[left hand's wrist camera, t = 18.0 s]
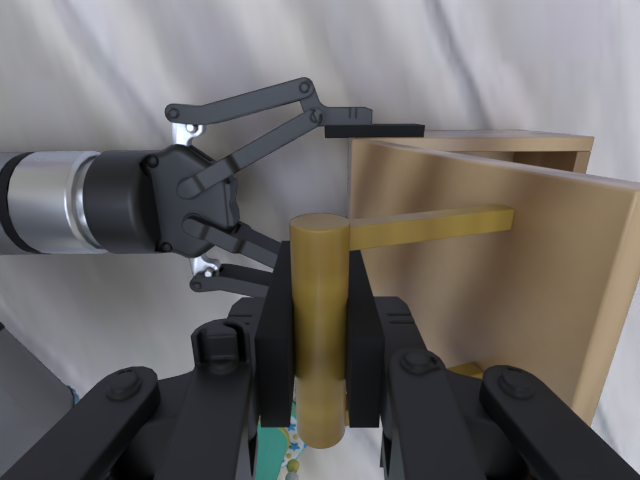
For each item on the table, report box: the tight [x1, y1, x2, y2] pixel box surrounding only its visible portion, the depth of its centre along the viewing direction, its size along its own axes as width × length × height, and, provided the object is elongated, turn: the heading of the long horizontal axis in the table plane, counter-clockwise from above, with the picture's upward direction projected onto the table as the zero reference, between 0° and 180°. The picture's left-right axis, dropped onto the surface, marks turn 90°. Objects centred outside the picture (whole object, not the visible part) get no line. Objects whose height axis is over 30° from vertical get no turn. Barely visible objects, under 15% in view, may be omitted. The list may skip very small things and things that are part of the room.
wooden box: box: [347, 130, 594, 220], centre depth 29 cm, size 15×9×9 cm, turn 90°
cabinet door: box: [290, 139, 640, 449], centre depth 16 cm, size 16×9×8 cm
